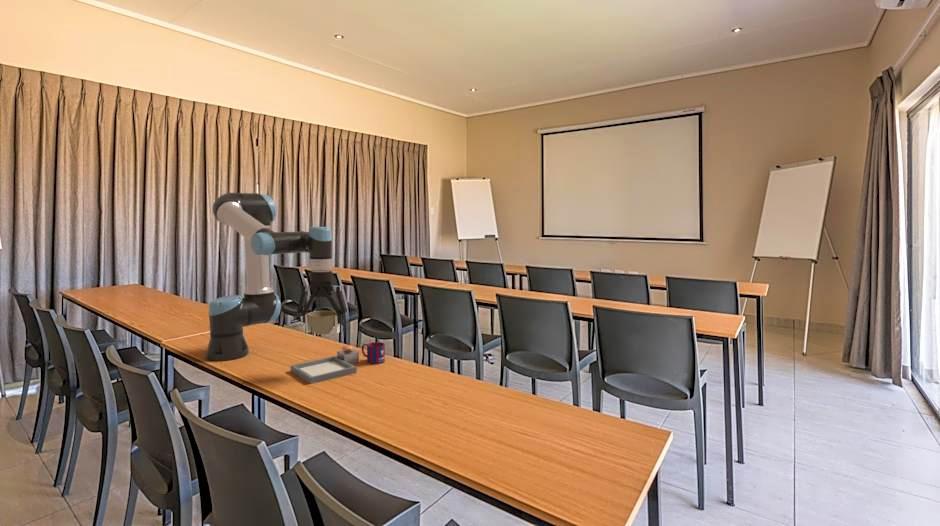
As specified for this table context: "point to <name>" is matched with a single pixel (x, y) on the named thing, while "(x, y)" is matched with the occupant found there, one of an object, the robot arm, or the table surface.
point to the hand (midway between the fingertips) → (322, 332)
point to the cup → (375, 352)
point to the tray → (323, 369)
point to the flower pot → (322, 321)
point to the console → (349, 356)
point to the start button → (347, 348)
